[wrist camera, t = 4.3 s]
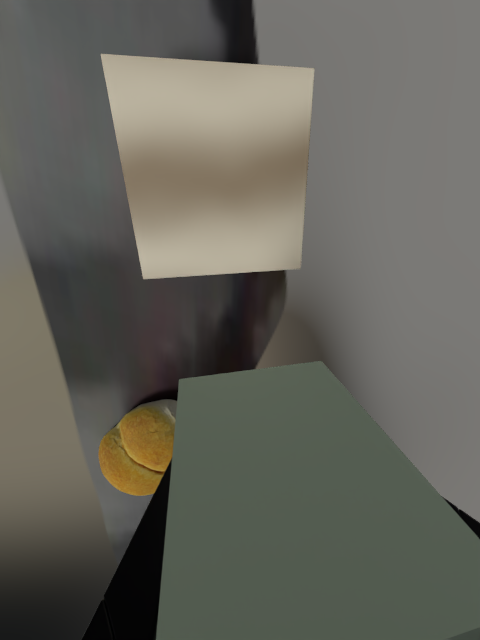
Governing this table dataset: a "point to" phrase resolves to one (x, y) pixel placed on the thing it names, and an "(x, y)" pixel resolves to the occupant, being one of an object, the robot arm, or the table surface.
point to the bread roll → (139, 447)
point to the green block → (305, 521)
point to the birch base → (212, 162)
